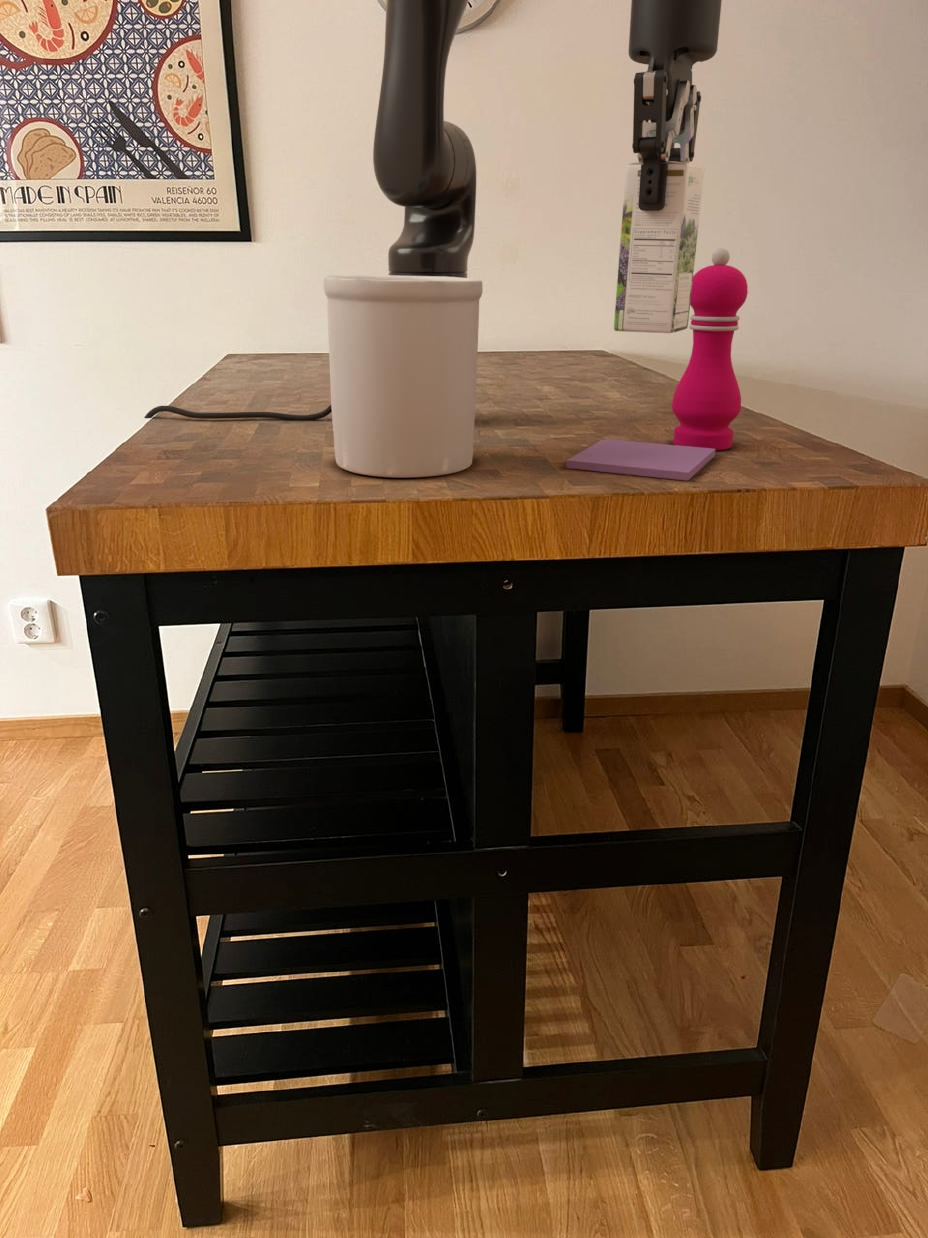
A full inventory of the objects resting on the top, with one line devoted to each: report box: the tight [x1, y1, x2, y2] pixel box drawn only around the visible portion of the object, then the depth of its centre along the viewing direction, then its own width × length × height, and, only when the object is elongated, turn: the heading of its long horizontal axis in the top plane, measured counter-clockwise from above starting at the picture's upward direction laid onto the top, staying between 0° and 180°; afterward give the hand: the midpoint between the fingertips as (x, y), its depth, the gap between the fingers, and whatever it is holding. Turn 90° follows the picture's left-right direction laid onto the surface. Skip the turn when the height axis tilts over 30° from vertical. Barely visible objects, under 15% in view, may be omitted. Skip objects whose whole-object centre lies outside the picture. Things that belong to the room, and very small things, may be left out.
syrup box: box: [613, 161, 705, 334], centre depth 86 cm, size 6×6×14 cm
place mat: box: [565, 438, 716, 482], centre depth 93 cm, size 12×12×1 cm
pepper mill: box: [671, 247, 749, 452], centre depth 98 cm, size 7×7×20 cm
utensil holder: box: [322, 274, 483, 479], centre depth 89 cm, size 15×15×18 cm
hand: (660, 210), depth 85 cm, fingers closed on syrup box, 5 cm apart
